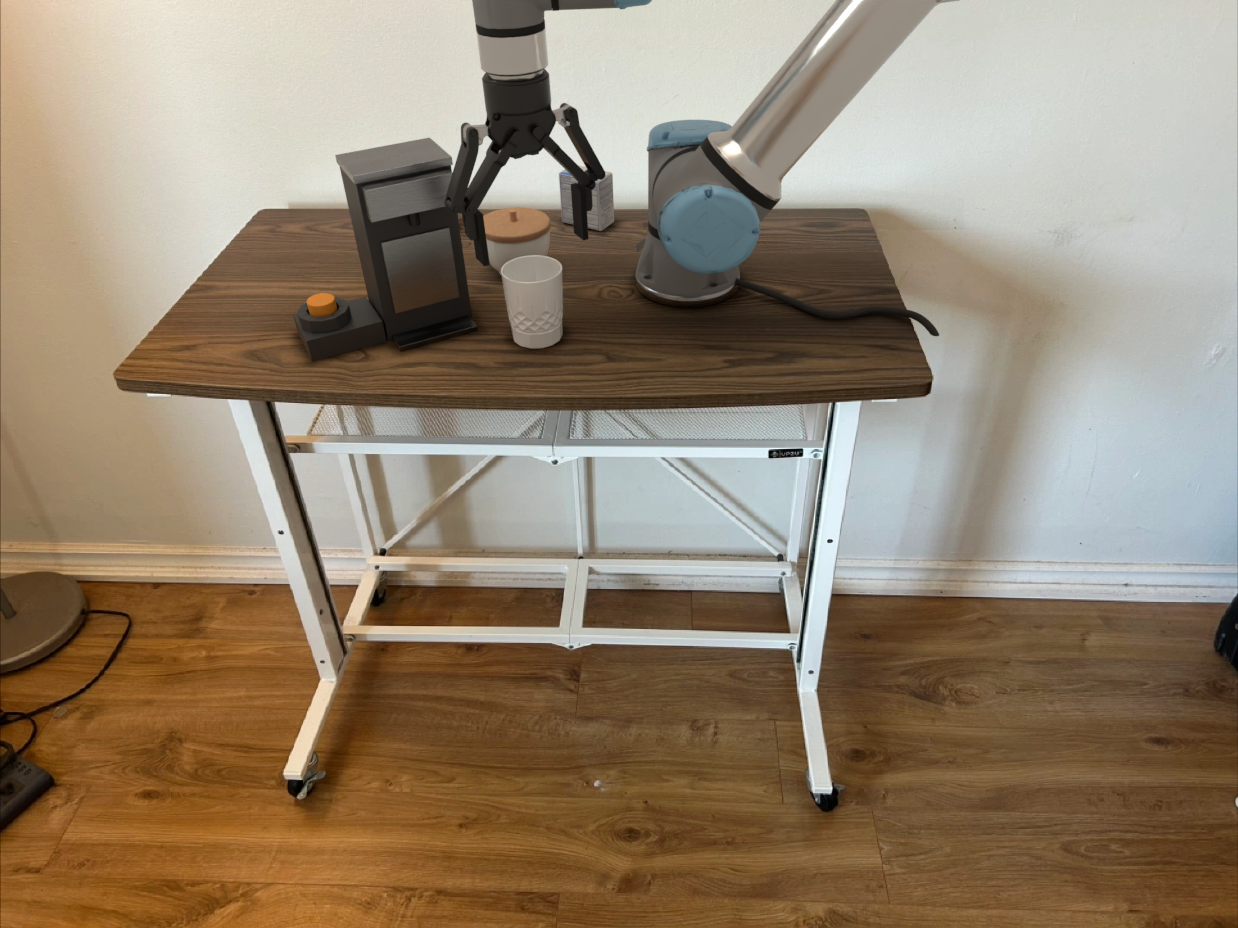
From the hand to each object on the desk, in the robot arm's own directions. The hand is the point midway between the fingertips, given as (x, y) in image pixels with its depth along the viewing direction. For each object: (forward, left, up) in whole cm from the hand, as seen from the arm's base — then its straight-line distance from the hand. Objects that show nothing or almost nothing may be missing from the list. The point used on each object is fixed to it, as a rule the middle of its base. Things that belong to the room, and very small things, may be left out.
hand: (533, 248), depth 112 cm
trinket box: (+10, -18, -13) cm, 24 cm away
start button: (+27, +8, -8) cm, 29 cm away
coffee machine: (+17, +1, -13) cm, 21 cm away
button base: (+26, +7, -13) cm, 30 cm away
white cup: (0, 0, -13) cm, 13 cm away
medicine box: (+5, -37, -13) cm, 39 cm away
